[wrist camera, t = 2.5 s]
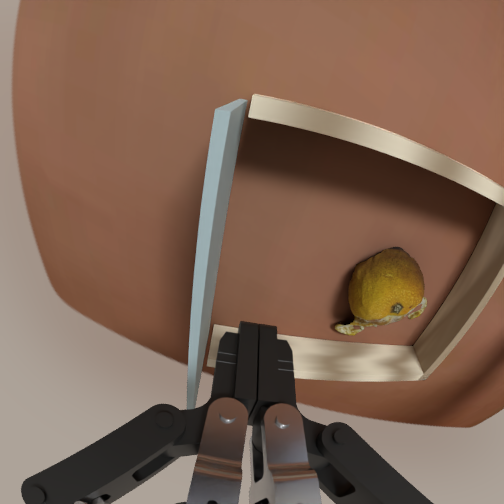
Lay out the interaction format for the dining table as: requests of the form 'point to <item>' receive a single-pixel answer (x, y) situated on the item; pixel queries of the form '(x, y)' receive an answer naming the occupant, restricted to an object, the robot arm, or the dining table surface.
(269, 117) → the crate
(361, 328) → the fruit
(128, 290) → the dining table surface
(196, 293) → the panel
